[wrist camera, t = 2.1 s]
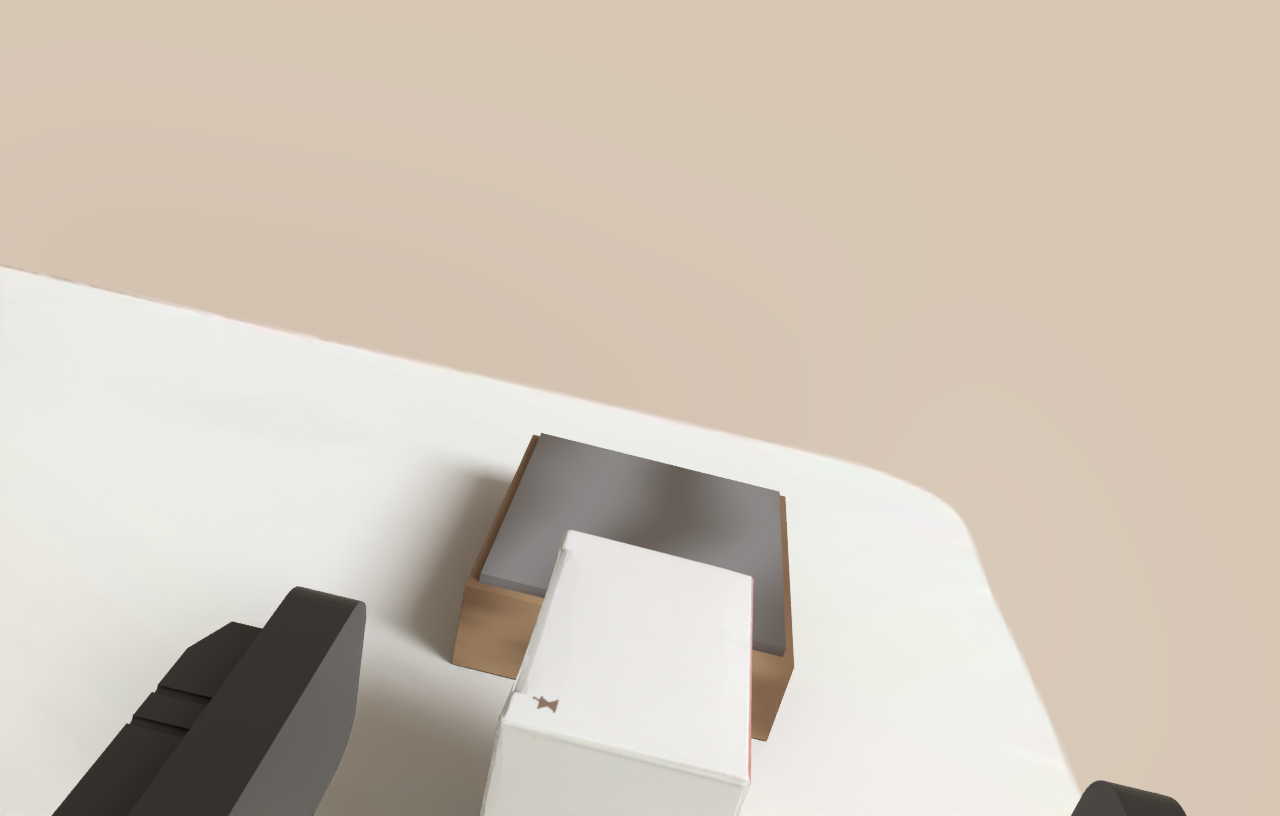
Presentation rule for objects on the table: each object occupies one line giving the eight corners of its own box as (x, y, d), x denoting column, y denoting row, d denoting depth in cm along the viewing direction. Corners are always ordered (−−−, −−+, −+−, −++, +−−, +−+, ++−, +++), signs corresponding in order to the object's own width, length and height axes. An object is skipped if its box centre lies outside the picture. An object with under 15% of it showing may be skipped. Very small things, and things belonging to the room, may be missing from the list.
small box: (645, 1085, 25) (755, 790, 21) (431, 1028, 25) (494, 722, 21) (673, 831, 32) (760, 570, 28) (507, 788, 33) (566, 521, 28)
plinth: (451, 663, 37) (467, 577, 35) (520, 499, 48) (534, 427, 46) (766, 741, 37) (797, 658, 35) (764, 559, 48) (787, 489, 46)
